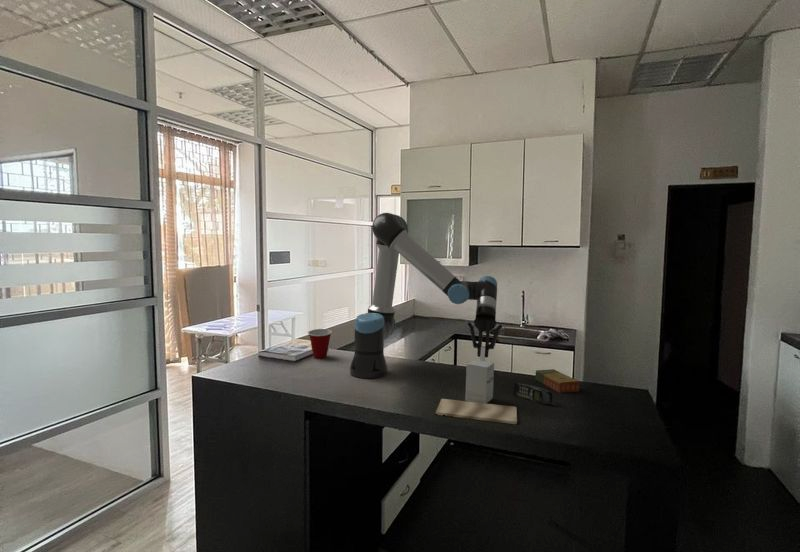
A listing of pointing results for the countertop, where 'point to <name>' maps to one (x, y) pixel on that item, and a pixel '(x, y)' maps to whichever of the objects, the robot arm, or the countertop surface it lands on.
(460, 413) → the wooden board
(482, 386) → the supplement box
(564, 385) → the carton
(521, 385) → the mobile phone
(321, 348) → the plastic cup
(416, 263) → the robot arm
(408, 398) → the countertop surface
